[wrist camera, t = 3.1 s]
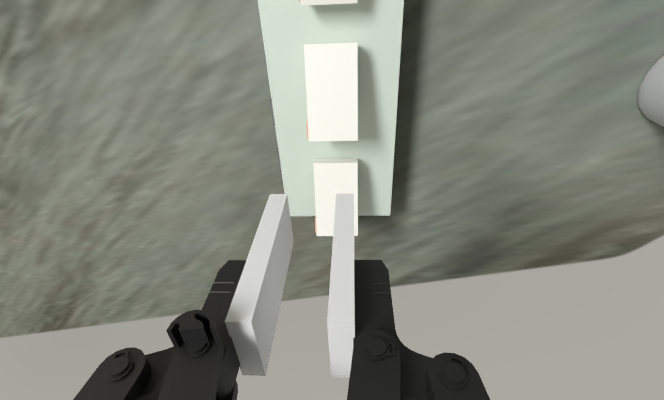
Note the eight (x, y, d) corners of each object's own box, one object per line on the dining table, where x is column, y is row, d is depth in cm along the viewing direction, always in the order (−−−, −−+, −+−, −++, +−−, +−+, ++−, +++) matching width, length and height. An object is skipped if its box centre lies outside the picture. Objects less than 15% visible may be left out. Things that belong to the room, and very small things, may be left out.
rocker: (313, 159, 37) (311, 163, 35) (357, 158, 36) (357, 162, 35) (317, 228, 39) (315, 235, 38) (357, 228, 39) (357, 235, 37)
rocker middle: (304, 46, 31) (301, 44, 29) (357, 44, 30) (357, 42, 29) (309, 138, 33) (307, 141, 32) (357, 137, 33) (357, 140, 31)
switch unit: (248, -119, 28) (231, -132, 24) (405, -129, 27) (414, -144, 23) (289, 197, 45) (283, 219, 41) (387, 196, 44) (390, 219, 40)
